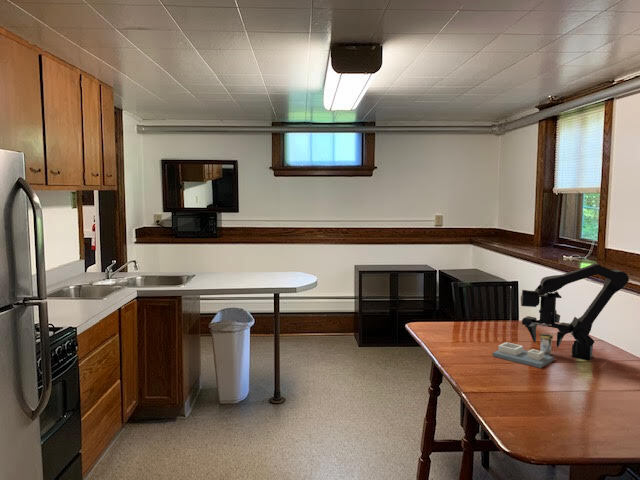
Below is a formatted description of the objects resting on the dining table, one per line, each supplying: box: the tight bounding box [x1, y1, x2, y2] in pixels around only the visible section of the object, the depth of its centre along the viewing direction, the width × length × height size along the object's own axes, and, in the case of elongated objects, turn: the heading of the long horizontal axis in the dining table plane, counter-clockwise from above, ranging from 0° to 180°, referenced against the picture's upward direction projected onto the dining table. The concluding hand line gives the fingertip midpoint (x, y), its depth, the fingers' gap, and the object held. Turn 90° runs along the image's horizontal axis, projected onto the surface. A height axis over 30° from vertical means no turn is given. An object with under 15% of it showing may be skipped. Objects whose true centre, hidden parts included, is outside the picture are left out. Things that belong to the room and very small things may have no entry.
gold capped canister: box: [539, 332, 554, 356], centre depth 197 cm, size 5×5×8 cm
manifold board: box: [492, 341, 554, 369], centre depth 191 cm, size 19×13×4 cm
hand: (546, 344), depth 197 cm, fingers open, 9 cm apart
